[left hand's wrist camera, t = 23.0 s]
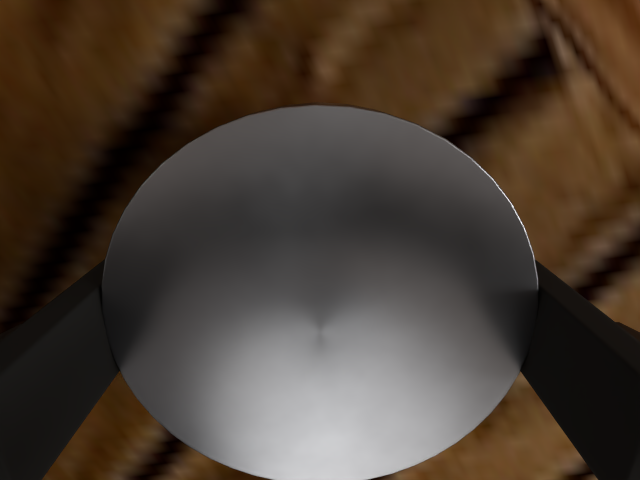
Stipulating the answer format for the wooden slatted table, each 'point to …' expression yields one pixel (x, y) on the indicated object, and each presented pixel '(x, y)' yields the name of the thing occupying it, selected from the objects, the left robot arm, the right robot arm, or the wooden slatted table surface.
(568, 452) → the wooden slatted table surface
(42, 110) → the wooden slatted table surface
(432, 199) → the lid
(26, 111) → the wooden slatted table surface
